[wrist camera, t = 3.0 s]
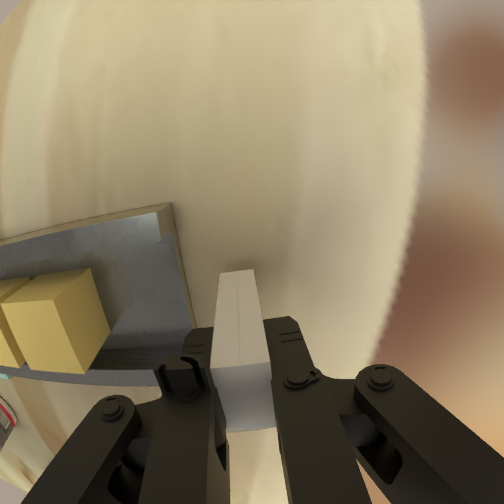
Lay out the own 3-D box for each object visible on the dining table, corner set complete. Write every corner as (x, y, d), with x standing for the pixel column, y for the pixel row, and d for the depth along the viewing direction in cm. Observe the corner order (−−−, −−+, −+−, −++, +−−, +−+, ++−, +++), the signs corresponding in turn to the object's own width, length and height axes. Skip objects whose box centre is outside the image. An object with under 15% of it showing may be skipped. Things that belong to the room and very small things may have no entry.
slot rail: (18, 352, 17) (0, 373, 14) (-21, 246, 14) (-47, 259, 11) (202, 351, 17) (198, 384, 14) (171, 202, 14) (156, 212, 11)
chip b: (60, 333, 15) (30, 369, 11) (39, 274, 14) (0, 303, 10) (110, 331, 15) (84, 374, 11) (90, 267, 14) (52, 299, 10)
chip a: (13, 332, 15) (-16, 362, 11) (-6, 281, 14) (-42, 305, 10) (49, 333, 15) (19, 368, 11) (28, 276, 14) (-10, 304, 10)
